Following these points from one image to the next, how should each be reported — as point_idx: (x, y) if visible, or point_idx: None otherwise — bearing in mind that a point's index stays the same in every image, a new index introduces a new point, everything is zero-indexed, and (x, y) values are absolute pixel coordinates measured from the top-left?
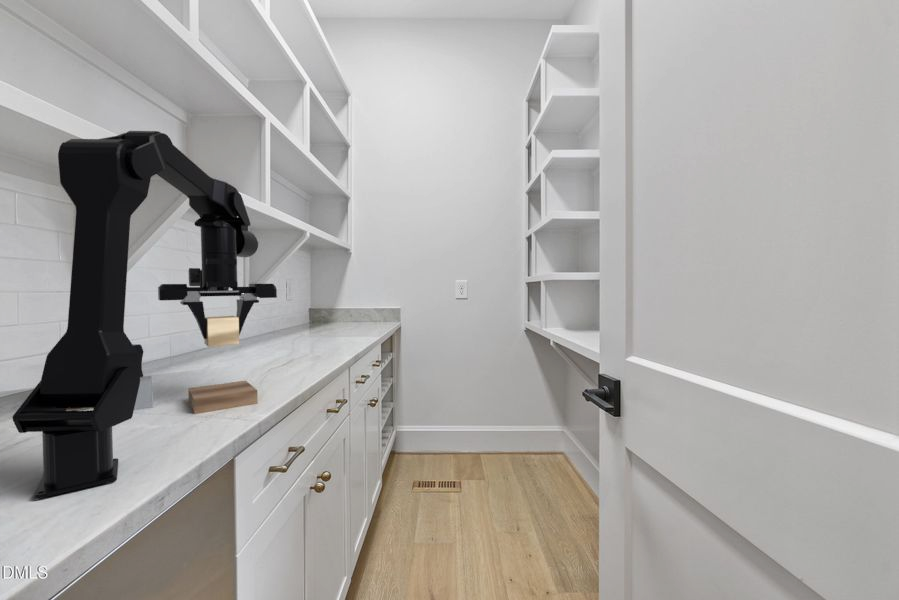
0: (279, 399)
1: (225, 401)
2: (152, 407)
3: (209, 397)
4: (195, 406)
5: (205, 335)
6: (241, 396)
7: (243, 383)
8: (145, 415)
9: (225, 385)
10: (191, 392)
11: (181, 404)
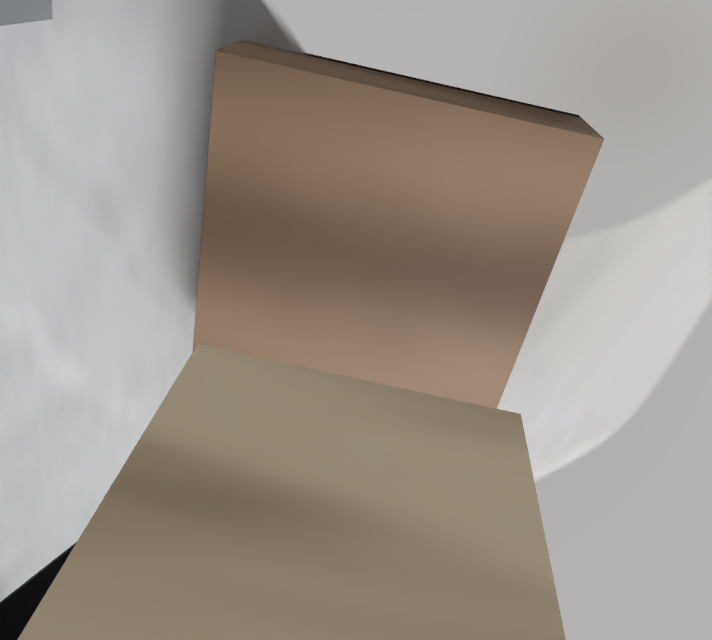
0: (591, 403)
1: None
2: (50, 18)
3: None
4: None
5: None
6: None
7: (536, 220)
8: (26, 173)
9: (428, 180)
10: (209, 204)
11: (195, 85)
